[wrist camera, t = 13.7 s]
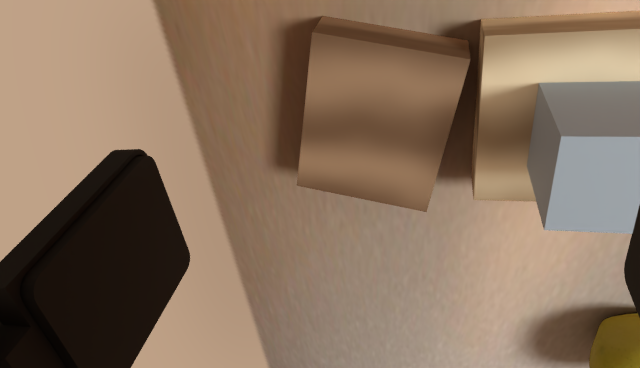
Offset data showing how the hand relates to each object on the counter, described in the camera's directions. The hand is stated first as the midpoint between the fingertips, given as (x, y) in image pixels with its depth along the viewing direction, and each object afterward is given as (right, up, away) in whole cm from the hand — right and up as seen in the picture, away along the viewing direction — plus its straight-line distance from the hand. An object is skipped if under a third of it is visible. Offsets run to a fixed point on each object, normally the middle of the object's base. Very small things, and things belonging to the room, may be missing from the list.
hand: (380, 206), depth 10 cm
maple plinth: (+16, +6, +26) cm, 31 cm away
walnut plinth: (+3, +6, +29) cm, 29 cm away
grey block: (+16, +4, +22) cm, 28 cm away
